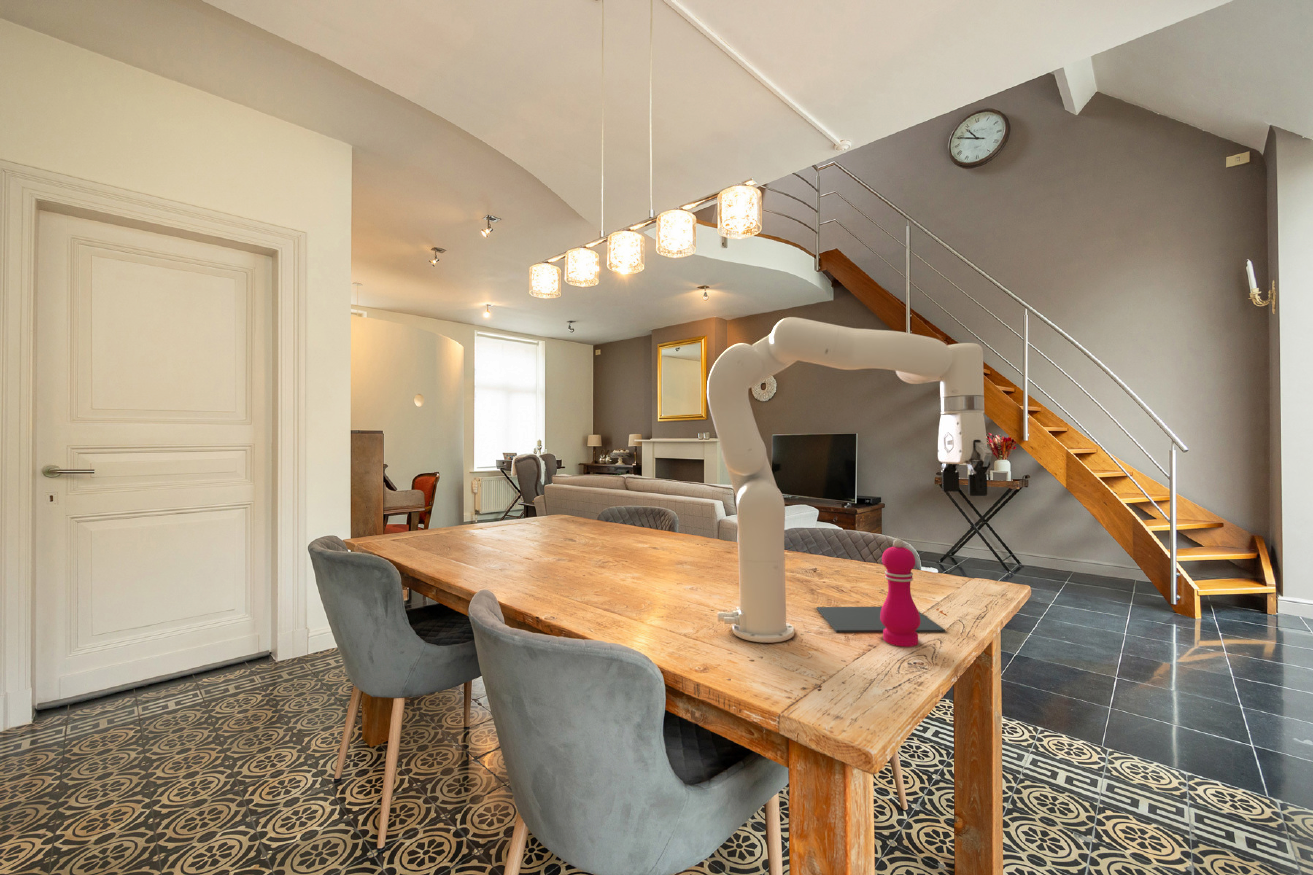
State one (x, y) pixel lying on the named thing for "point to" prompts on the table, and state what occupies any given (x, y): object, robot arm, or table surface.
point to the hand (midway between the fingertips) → (963, 493)
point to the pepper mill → (899, 598)
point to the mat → (866, 620)
